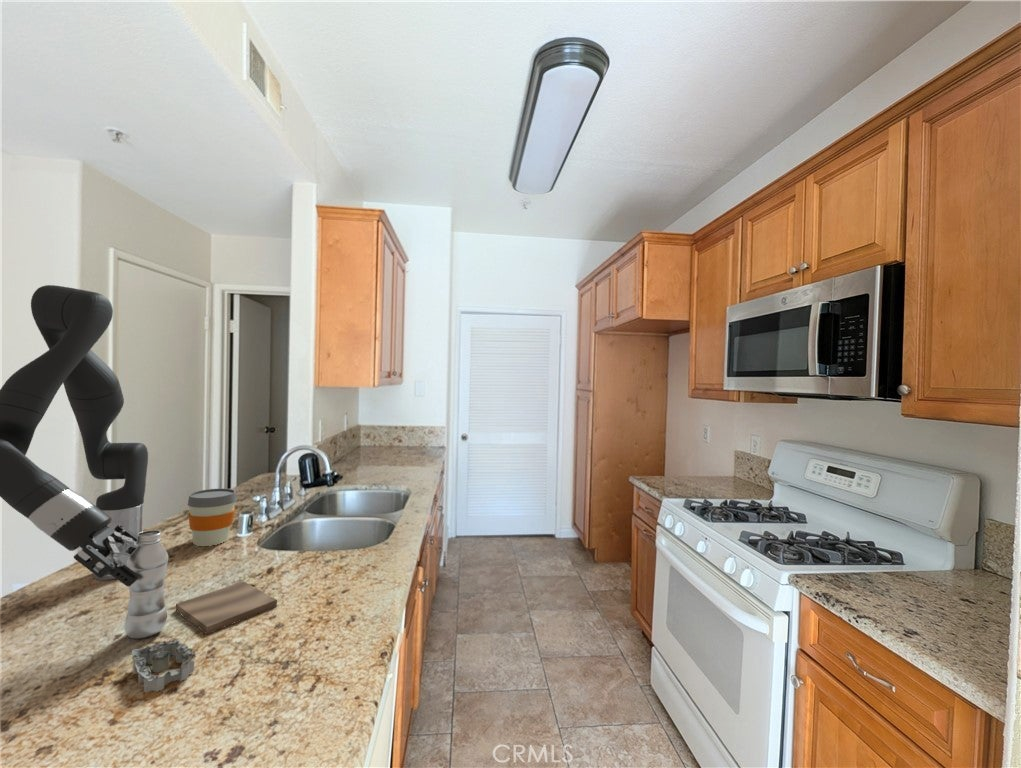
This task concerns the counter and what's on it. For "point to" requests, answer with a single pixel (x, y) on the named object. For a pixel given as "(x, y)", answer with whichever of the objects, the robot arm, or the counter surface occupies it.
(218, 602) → the walnut board
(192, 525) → the reusable coffee cup
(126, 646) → the counter surface
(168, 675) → the metal cookie cutter
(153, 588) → the plastic bottle
